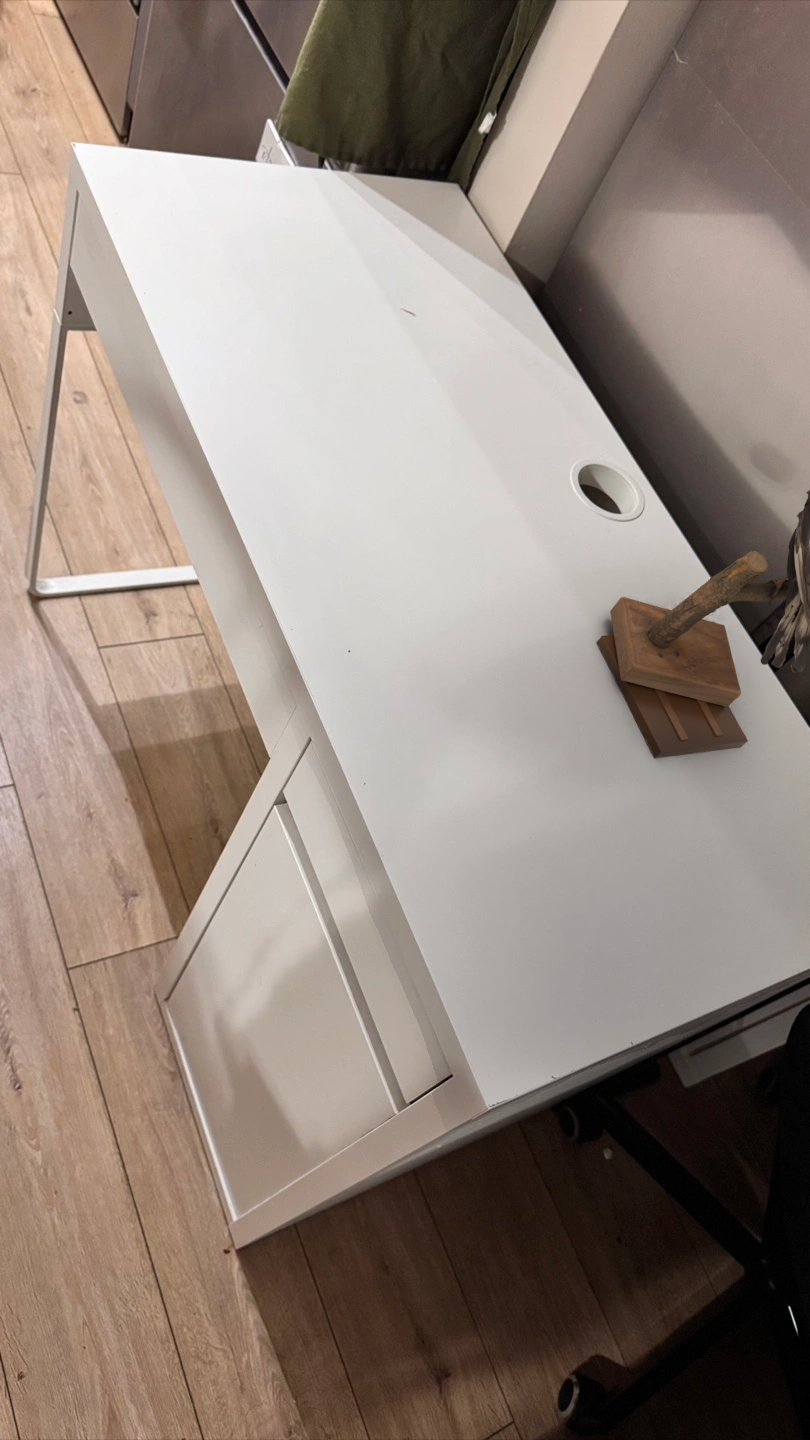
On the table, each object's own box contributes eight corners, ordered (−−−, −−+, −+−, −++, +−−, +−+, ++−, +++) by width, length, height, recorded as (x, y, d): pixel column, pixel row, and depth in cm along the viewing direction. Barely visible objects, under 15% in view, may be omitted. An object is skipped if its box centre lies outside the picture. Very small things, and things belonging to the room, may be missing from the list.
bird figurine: (629, 741, 82) (840, 531, 63) (609, 610, 90) (791, 389, 71) (740, 768, 85) (973, 575, 66) (711, 638, 94) (911, 434, 75)
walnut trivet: (741, 747, 89) (749, 740, 88) (654, 758, 84) (662, 750, 83) (681, 637, 94) (688, 629, 93) (596, 642, 89) (602, 634, 88)
